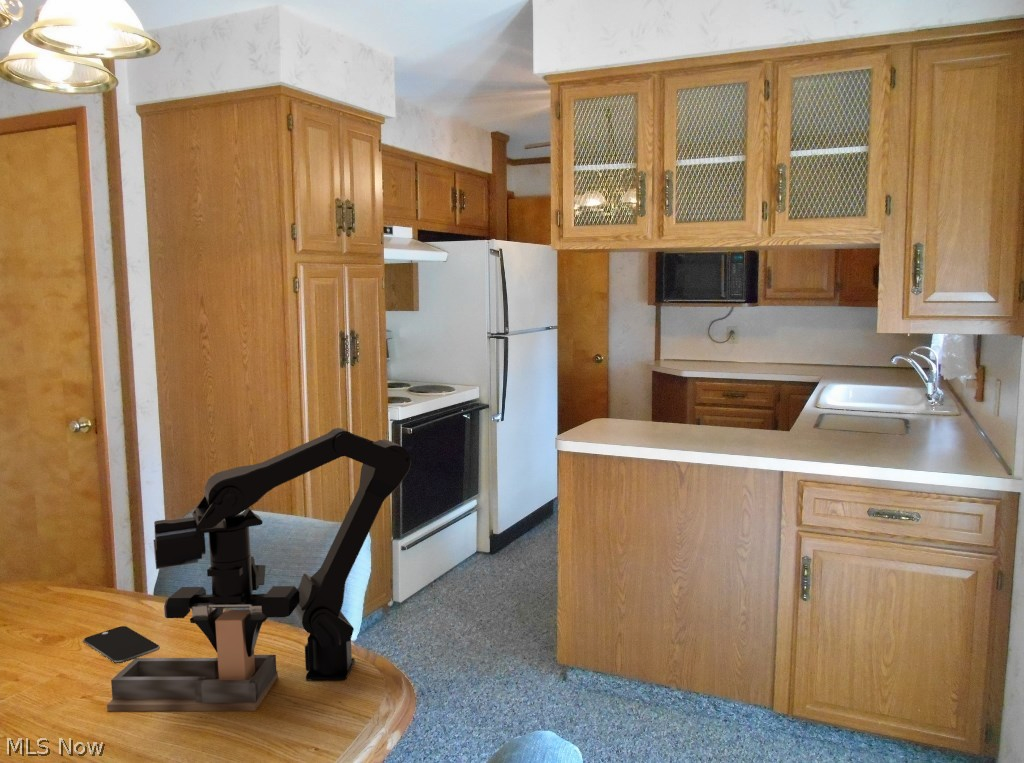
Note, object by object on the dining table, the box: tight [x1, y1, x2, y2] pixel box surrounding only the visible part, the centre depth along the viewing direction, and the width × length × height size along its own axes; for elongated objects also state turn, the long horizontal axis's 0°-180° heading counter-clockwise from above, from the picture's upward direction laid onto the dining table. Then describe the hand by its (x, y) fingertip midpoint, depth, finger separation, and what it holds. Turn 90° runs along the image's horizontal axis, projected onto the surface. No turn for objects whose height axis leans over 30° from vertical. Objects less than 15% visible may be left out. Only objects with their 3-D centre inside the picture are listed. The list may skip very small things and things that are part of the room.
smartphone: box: [82, 625, 161, 664], centre depth 134 cm, size 8×1×15 cm
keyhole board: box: [106, 654, 279, 712], centre depth 116 cm, size 22×10×4 cm, turn 89°
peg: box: [215, 609, 255, 680], centre depth 115 cm, size 4×4×10 cm
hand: (236, 655), depth 116 cm, fingers closed on peg, 4 cm apart
